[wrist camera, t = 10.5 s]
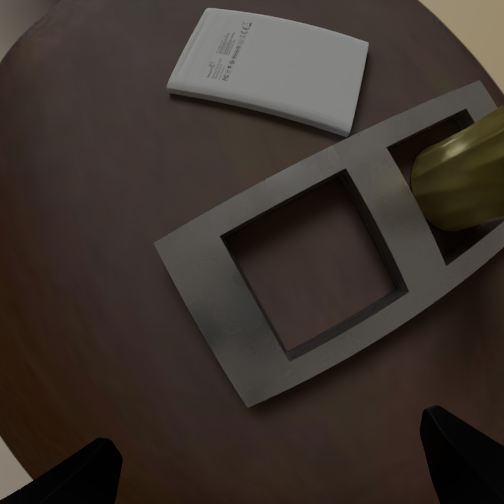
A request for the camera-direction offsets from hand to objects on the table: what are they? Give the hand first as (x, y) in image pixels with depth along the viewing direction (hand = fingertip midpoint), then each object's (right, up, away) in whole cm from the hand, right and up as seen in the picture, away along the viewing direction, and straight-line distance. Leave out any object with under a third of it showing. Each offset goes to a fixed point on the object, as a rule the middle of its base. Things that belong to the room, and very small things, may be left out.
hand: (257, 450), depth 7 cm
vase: (+13, +10, +12) cm, 20 cm away
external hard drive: (+1, +18, +13) cm, 22 cm away
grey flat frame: (+8, +7, +12) cm, 16 cm away
